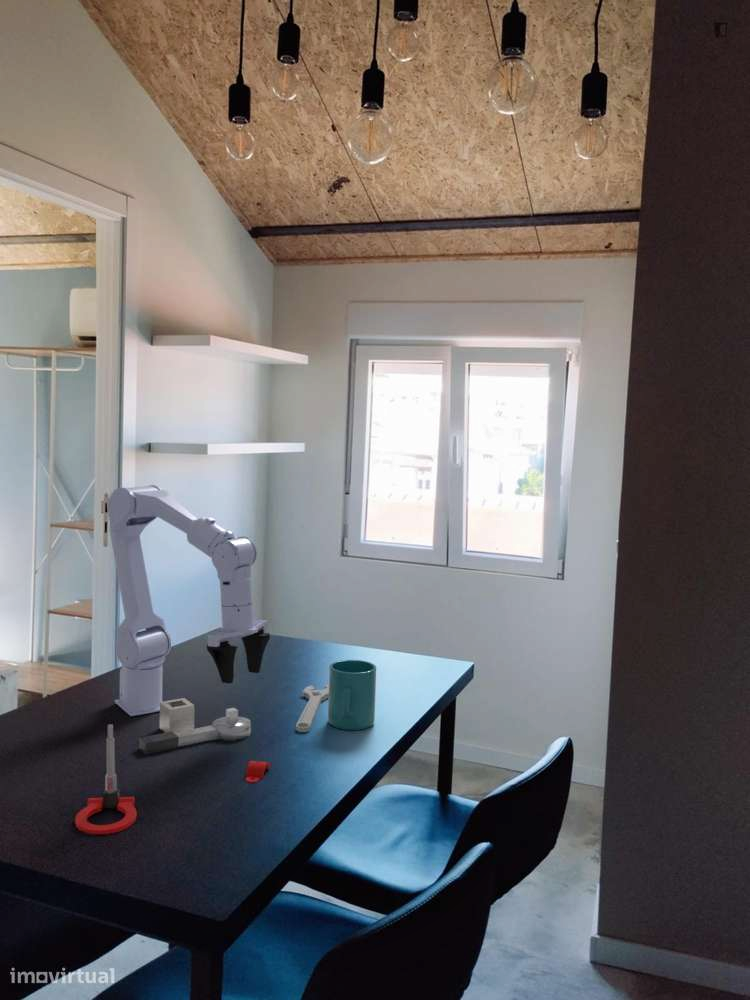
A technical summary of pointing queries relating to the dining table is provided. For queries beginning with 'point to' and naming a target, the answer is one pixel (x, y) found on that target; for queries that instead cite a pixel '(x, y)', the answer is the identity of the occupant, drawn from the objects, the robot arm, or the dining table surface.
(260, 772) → the pipe clamp
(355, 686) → the cup
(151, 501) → the robot arm
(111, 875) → the dining table surface
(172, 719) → the socket
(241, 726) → the ratchet
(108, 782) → the tow hook
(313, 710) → the adjustable wrench
